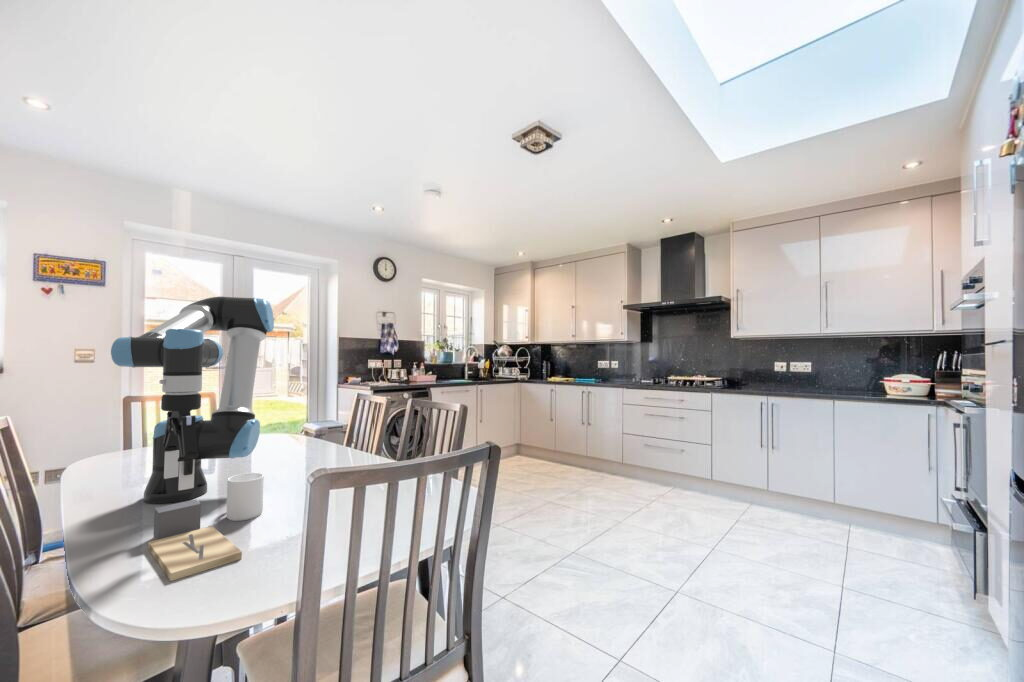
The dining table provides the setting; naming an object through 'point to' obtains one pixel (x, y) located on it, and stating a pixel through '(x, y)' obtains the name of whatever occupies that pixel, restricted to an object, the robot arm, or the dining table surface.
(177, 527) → the block
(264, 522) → the dining table surface
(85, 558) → the dining table surface
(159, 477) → the robot arm
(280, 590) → the dining table surface
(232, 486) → the cup
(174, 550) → the board
